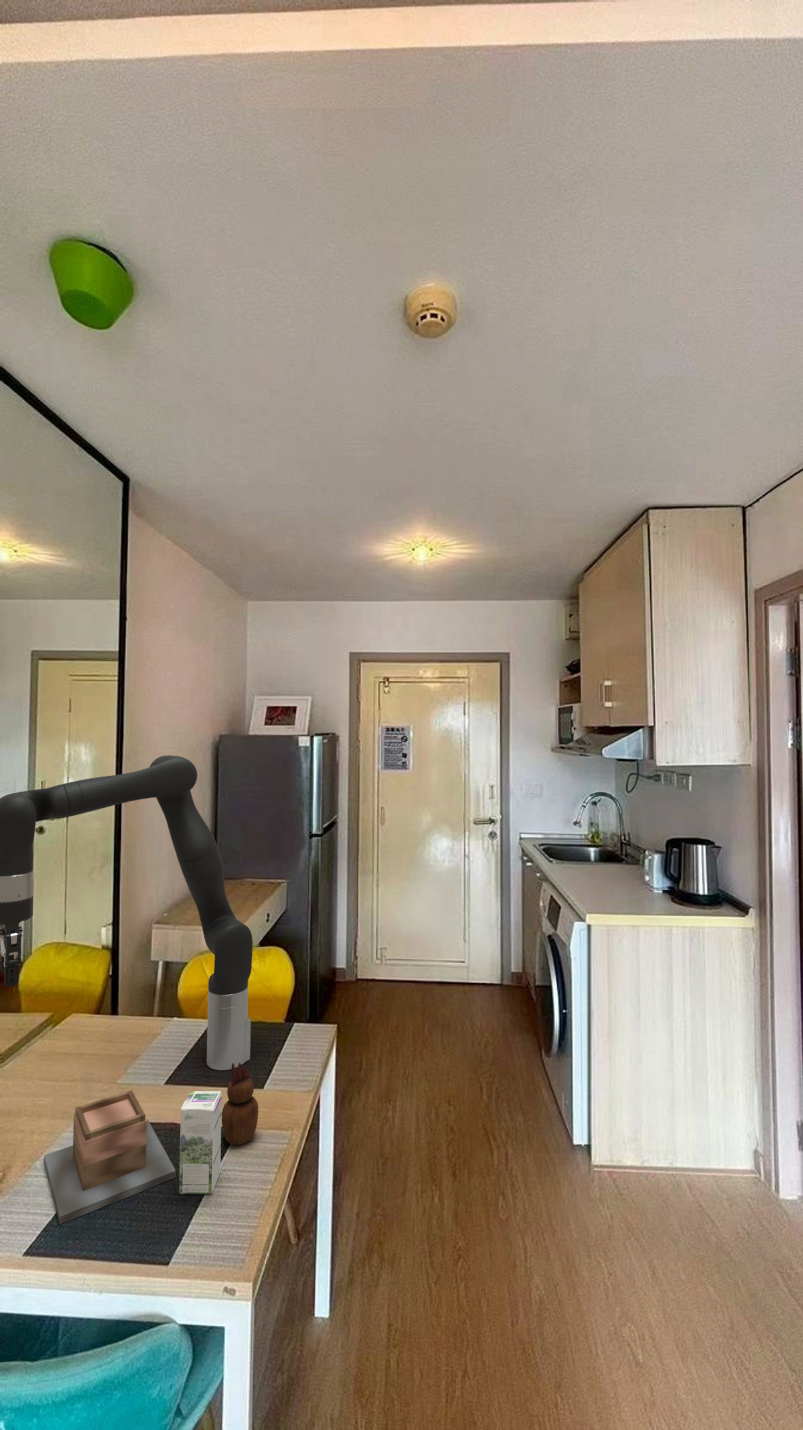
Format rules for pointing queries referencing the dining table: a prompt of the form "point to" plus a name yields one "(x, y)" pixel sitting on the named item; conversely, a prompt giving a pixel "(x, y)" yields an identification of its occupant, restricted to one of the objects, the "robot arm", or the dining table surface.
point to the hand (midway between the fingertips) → (9, 978)
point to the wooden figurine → (240, 1108)
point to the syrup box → (200, 1142)
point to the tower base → (105, 1191)
